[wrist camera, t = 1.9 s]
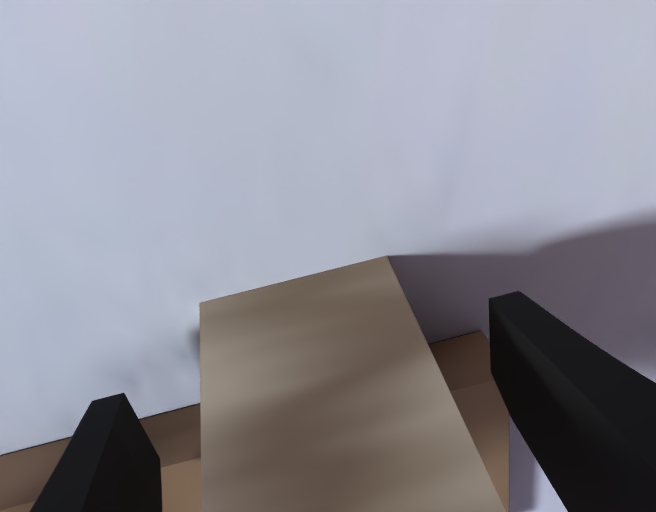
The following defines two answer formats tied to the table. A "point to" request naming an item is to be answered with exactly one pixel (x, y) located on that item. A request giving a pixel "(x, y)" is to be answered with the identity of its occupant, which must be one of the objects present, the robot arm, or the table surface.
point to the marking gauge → (330, 403)
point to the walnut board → (185, 436)
